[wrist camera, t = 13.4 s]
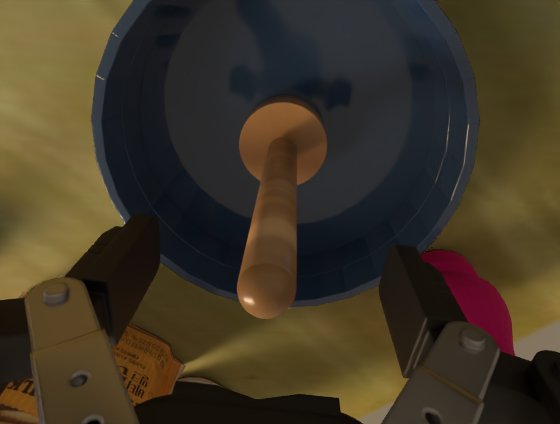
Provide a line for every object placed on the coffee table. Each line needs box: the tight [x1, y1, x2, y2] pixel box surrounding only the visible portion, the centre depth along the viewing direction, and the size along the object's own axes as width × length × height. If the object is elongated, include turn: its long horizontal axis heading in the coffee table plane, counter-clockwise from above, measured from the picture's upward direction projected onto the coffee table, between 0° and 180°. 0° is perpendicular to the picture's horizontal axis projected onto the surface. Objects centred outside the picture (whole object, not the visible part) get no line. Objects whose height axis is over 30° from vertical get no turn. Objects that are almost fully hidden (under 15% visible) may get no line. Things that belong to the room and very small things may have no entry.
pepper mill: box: [420, 250, 515, 356], centre depth 23 cm, size 7×7×20 cm
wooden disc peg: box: [237, 95, 327, 319], centre depth 18 cm, size 6×6×17 cm
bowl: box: [91, 0, 480, 307], centre depth 24 cm, size 21×21×6 cm
